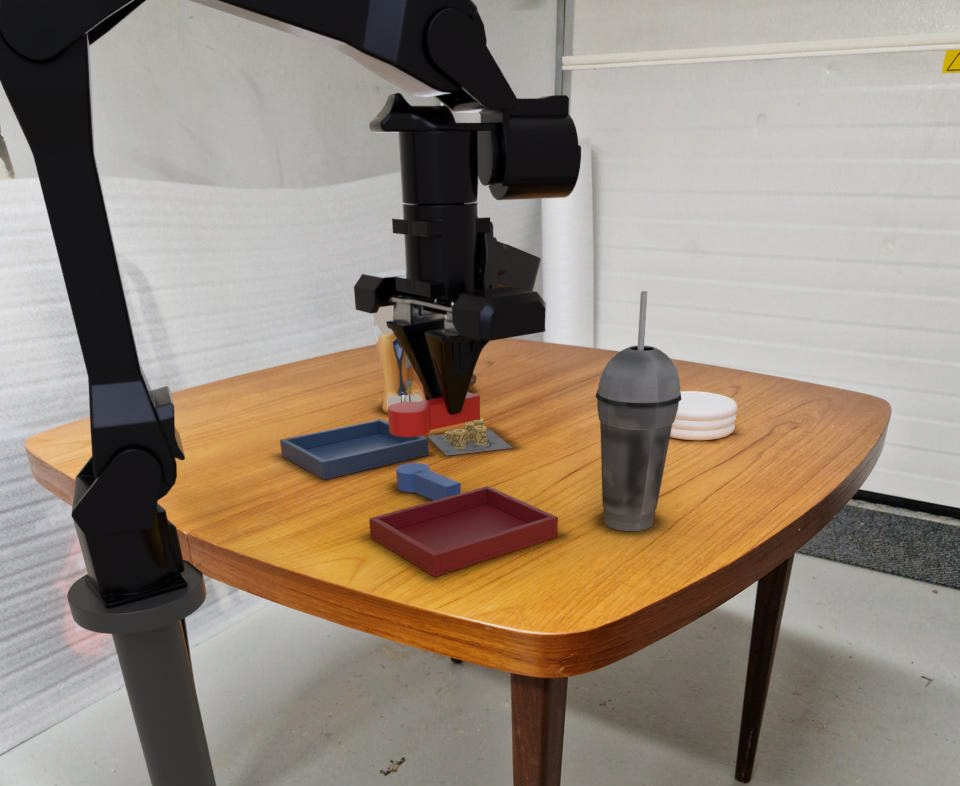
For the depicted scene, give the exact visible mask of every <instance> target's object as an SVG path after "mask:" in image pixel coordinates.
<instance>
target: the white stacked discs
mask: <svg viewBox="0 0 960 786" xmlns="http://www.w3.org/2000/svg"><path fill="white" fill-rule="evenodd" d="M680 392H681V400H680V401H679V405H678V411H677V414H676V417H675V421H674V423H672V428H671V434H670V438H671V439H672V438H673V439H679V440H686V441H712V440H717V439H718V440H719V439H722V438H726V437H727V436H729V435H731V434H732V433H734V431H735V428H736V424H735V422H736V420H737V411H738V409H739V406H738V403H737V402H736V401H735V400H734V399H733V398H731V397H729V396H726V395H723V394H719V393H714V392H707V391H696V390H694V391H693V390H683V391H682V390H680Z"/></svg>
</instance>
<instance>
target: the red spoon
mask: <svg viewBox="0 0 960 786" xmlns="http://www.w3.org/2000/svg"><path fill="white" fill-rule="evenodd" d="M387 417H388V422H389V432H390V433H391V434H392V435H395V436H399V437H417V436H425V435H428V434H429V433H430V432H431V431H434V430H438V429H442V428H446V427H451V426H455V425H460V424H465V422H472V421H474V420H478V419H480V418H481V396H480V395H479V394H475V393H473V392H470V391H467V395H466V398H465V401H464V404H463V408H462V411H461V412H460V413H458V414H453V415H451V414H449V413H448V411H447V408H446V405H445V402H444V400H443V397H439V398H435V399H427V400H425V401H420V402H401V403H396V404H393V405H390V406H389V407H388V413H387Z"/></svg>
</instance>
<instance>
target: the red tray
mask: <svg viewBox="0 0 960 786" xmlns="http://www.w3.org/2000/svg"><path fill="white" fill-rule="evenodd" d="M368 519H369V520H368V521H369V523H368V524H369V535H370V539H372V540H373V541H375V542H376V543H378V544H380V545H382V546H383V547H385V548H386V549H388V550H390V551H391V552H393V553H395V554H396V555H397V556H399V557H401V558H403V559H404V560H406V561H408V562H409V563H411V564H413V565H414V566H416V567H417V568H419V569H420V570H422V571H424V572H425V573H427V574H429V575H430V576H432V577H434V578H436V577H439V576H442V575H446V574H448V573H452V572H455V571H457V570H461V569H463V568H464V569H465V568H467V567H470V566H473V565H477V564H479V563H482V562H485V561H489V560H492V559H494V558H498V557H501V556H503V555H506V554H509V553H512V552H516V551H519V550H522V549H524V548H528V547H531V546H534V545H538V544H540V543H543V542H546V541H549V540H553V539H555V538H558V532H559V531H558V529H559V517H558V516H556V515H554V514H553V513H550V512H547V511H545V510H543V509H541V508H539V507H536V506H535V505H532V504H529V503H528V502H525V501H522V500H520V499H518V498H516V497H514V496H511V495H510V494H507V493H505V492H503V491H500V490H498V489H496V488H494V487H491V486H489V485H487V486H482V487H479V488H475V489H472V490H468V491H465V492H461V493H460V494H457V495H453V496H449V497H446V498H442V499H438V500H435V501H433V500H431V501H428V502H424V503H420V504H417V505H412V506H410V507H406V508H402V509H398V510H395V511H390V512H387V513H384V514H383V513H382V514H380V515H379V514H378V515H376V516H373V517H369V518H368Z"/></svg>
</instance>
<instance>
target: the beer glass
mask: <svg viewBox="0 0 960 786" xmlns="http://www.w3.org/2000/svg"><path fill="white" fill-rule="evenodd" d="M389 320H394V307H393V305H392V306H385V307H380V308H379V310H378V312H377V313H372V327H373V335H374V342H375V347H376V351H377V356H378V360H379V363H380V368H381V372H382V379H383V395H382V396H383V397H382V407H381V408H382V411H383V412H384V413H386V414H388V407H389V406H390V405H393V404H396V403H401V402H420V401H425V400H428V397H426V392H425V390H424V388H423V386H422V384H421V382H420V380H419V378H418V376H417V374H416V372H415V370H414V368H413V366H412V364H411V363H410V361H409V359H408V357H407V355H406V354H405V352H404V350H403V348H402V347H401V345H400V343H399V341H398V340H397V338H396V336H395V335H394V333H393V331H392V330H391V329H389V328H388V327H387V324H386V321H389Z"/></svg>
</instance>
